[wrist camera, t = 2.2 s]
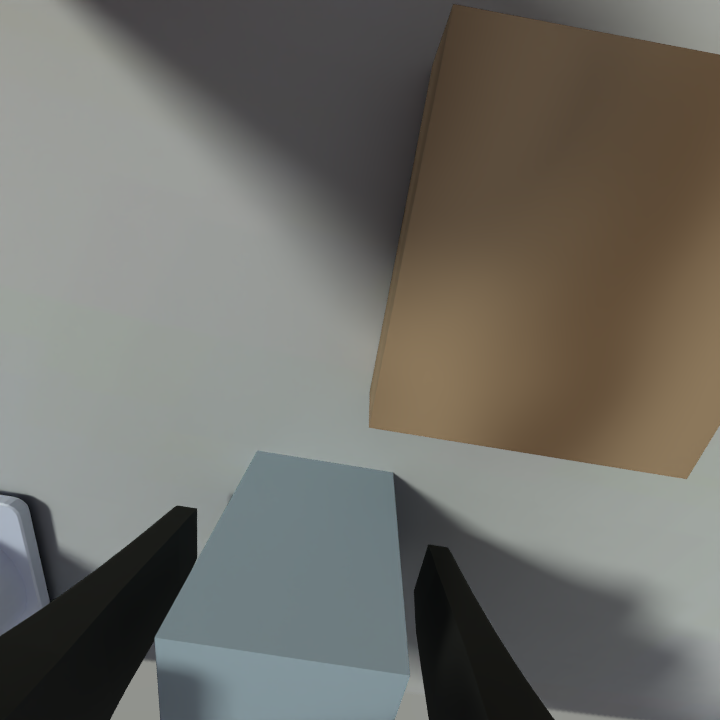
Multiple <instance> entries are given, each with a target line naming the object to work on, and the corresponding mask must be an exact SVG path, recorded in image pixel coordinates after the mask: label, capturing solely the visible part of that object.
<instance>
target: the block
mask: <svg viewBox="0 0 720 720" xmlns="http://www.w3.org/2000/svg"><path fill="white" fill-rule="evenodd" d="M155 651H156V665H157V677H158V678H157V679H158V693H159V708H160V720H395V717H396V714H397V711H398V708H399V705H400V702H401V700H402V697H403V694H404V691H405V689H406V686H407V683H408V680H409V677H410V669H409V658H408V646H407V634H406V622H405V610H404V598H403V586H402V574H401V562H400V551H399V539H398V527H397V515H396V503H395V491H394V479H393V472H386V471H380V470H374V469H368V468H362V467H355V466H349V465H343V464H337V463H330V462H324V461H318V460H312V459H305V458H299V457H293V456H287V455H281V454H274V453H268V452H262V451H257V452H256V454H255V456H254V458H253V460H252V461H251V463H250V465H249V467H248V469H247V470H246V472H245V474H244V476H243V478H242V480H241V481H240V483H239V485H238V487H237V489H236V490H235V492H234V494H233V496H232V498H231V500H230V501H229V503H228V505H227V507H226V509H225V510H224V512H223V514H222V516H221V518H220V520H219V521H218V523H217V525H216V527H215V529H214V530H213V532H212V534H211V536H210V538H209V540H208V541H207V543H206V545H205V547H204V549H203V550H202V552H201V554H200V556H199V558H198V560H197V561H196V563H195V565H194V567H193V569H192V570H191V572H190V574H189V576H188V578H187V580H186V581H185V583H184V585H183V587H182V589H181V590H180V592H179V594H178V596H177V598H176V600H175V601H174V603H173V605H172V607H171V609H170V610H169V612H168V614H167V616H166V618H165V620H164V621H163V623H162V625H161V627H160V629H159V630H158V632H157V634H156V636H155Z"/></svg>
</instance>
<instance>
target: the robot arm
mask: <svg viewBox="0 0 720 720" xmlns="http://www.w3.org/2000/svg"><path fill="white" fill-rule="evenodd" d="M196 559H197V509H196V508H190V507H183V506H176V507H174V508H173V509H172V510H170V511H169V512H168V513H167V514H165V515H164V516H163V517H162V518H161V519H159V520H158V521H157V522H156V523H155V524H153V525H152V526H151V527H150V528H148V529H147V530H146V531H145V532H144V533H142V534H141V535H140V536H139V537H137V538H136V539H135V540H134V541H132V542H131V543H130V544H129V545H127V546H126V547H125V548H123V549H122V550H121V551H120V552H118V553H117V554H116V555H114V556H113V557H112V558H111V559H109V560H108V561H107V562H105V563H104V564H103V565H102V566H100V567H99V568H98V569H96V570H95V571H94V572H92V573H91V574H89V575H88V576H87V577H85V578H84V579H83V580H81V581H80V582H78V583H77V584H76V585H74V586H73V587H72V588H70V589H69V590H67V591H66V592H65V593H63V594H62V595H61V596H59V597H58V598H56V599H55V600H53V601H52V602H51V603H50V600H49V596H48V591H47V587H46V582H45V578H44V574H43V569H42V565H41V560H40V556H39V551H38V547H37V542H36V538H35V533H34V529H33V524H32V520H31V515H30V511H29V508H28V505H27V504H26V503H25V502H24V501H23V500H21V499H19V498H16V497H12V496H6V495H0V720H110V719H111V717H112V714H113V713H114V711H115V709H116V707H117V705H118V703H119V701H120V700H121V698H122V696H123V694H124V692H125V690H126V688H127V687H128V685H129V683H130V681H131V679H132V678H133V676H134V675H135V673H136V671H137V669H138V668H139V666H140V664H141V662H142V661H143V659H144V657H145V656H146V654H147V652H148V650H149V649H150V647H151V645H152V644H153V642H154V640H155V636H156V634H157V632H158V630H159V629H160V627H161V625H162V623H163V621H164V620H165V618H166V616H167V614H168V612H169V610H170V609H171V607H172V605H173V603H174V601H175V600H176V598H177V596H178V594H179V592H180V590H181V589H182V587H183V585H184V583H185V581H186V580H187V578H188V576H189V574H190V572H191V570H192V568H193V566H194V564H195V561H196ZM414 603H415V623H416V634H417V642H418V649H419V656H420V663H421V670H422V676H423V683H424V690H425V697H426V704H427V710H428V717H429V720H554V718H553V717H552V716H551V714H550V713H549V711H548V710H547V709H546V707H545V706H544V704H543V703H542V702H541V700H540V699H539V697H538V696H537V695H536V693H535V692H534V690H533V689H532V687H531V686H530V685H529V683H528V682H527V680H526V679H525V677H524V676H523V674H522V673H521V671H520V670H519V668H518V667H517V665H516V664H515V662H514V661H513V659H512V657H511V656H510V654H509V653H508V651H507V650H506V648H505V647H504V645H503V643H502V642H501V640H500V639H499V637H498V635H497V634H496V632H495V630H494V629H493V627H492V625H491V624H490V622H489V620H488V619H487V617H486V615H485V614H484V612H483V610H482V608H481V607H480V605H479V603H478V602H477V600H476V598H475V596H474V594H473V593H472V591H471V589H470V587H469V585H468V584H467V582H466V580H465V578H464V576H463V574H462V573H461V571H460V569H459V567H458V565H457V563H456V561H455V559H454V557H453V556H452V554H451V552H450V550H449V549H448V548H447V547H441V546H434V545H428V547H427V550H426V554H425V557H424V560H423V563H422V567H421V570H420V573H419V576H418V579H417V583H416V586H415V589H414Z"/></svg>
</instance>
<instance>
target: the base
mask: <svg viewBox="0 0 720 720" xmlns="http://www.w3.org/2000/svg"><path fill="white" fill-rule="evenodd" d="M719 425H720V55H718V54H713V53H708V52H702V51H697V50H692V49H687V48H681V47H676V46H671V45H666V44H660V43H655V42H650V41H645V40H639V39H634V38H629V37H624V36H619V35H613V34H608V33H603V32H598V31H592V30H587V29H582V28H577V27H571V26H566V25H561V24H556V23H550V22H545V21H540V20H535V19H529V18H524V17H519V16H514V15H508V14H503V13H498V12H493V11H487V10H482V9H477V8H472V7H466V6H461V5H456V4H453V6H452V9H451V12H450V15H449V18H448V21H447V24H446V27H445V30H444V33H443V36H442V39H441V42H440V44H439V47H438V50H437V53H436V56H435V59H434V62H433V65H432V70H431V76H430V81H429V86H428V91H427V96H426V102H425V107H424V112H423V117H422V123H421V128H420V133H419V138H418V143H417V149H416V154H415V159H414V164H413V169H412V175H411V180H410V185H409V190H408V196H407V201H406V206H405V211H404V216H403V222H402V227H401V232H400V237H399V242H398V248H397V253H396V258H395V263H394V269H393V274H392V279H391V284H390V289H389V295H388V300H387V305H386V310H385V315H384V321H383V326H382V331H381V336H380V342H379V347H378V352H377V357H376V362H375V368H374V373H373V378H372V383H371V388H370V406H369V428H375V429H381V430H388V431H394V432H400V433H406V434H412V435H418V436H425V437H431V438H437V439H443V440H449V441H455V442H462V443H468V444H474V445H480V446H486V447H492V448H499V449H505V450H511V451H517V452H523V453H529V454H536V455H542V456H548V457H554V458H560V459H566V460H573V461H579V462H585V463H591V464H597V465H603V466H610V467H616V468H622V469H628V470H634V471H640V472H647V473H653V474H659V475H665V476H671V477H677V478H683V479H687V478H688V476H689V475H690V473H691V471H692V470H693V468H694V466H695V465H696V463H697V461H698V460H699V458H700V456H701V455H702V453H703V452H704V450H705V448H706V447H707V445H708V443H709V442H710V440H711V438H712V437H713V435H714V434H715V432H716V430H717V429H718V427H719Z"/></svg>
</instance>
